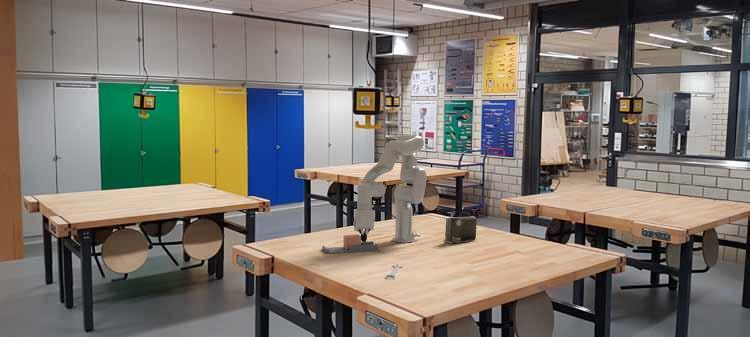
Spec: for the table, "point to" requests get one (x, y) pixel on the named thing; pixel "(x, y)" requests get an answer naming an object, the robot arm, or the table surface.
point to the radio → (460, 229)
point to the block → (351, 240)
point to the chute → (352, 248)
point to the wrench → (393, 272)
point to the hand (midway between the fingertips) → (363, 241)
